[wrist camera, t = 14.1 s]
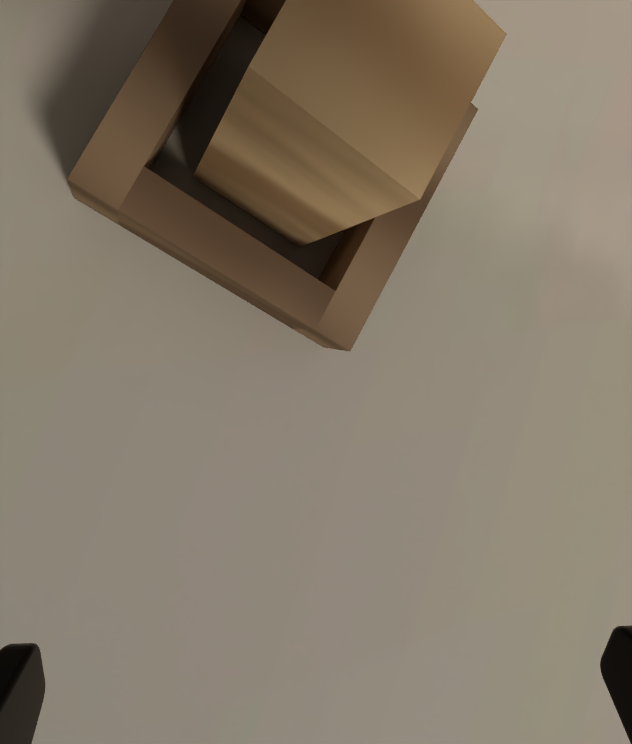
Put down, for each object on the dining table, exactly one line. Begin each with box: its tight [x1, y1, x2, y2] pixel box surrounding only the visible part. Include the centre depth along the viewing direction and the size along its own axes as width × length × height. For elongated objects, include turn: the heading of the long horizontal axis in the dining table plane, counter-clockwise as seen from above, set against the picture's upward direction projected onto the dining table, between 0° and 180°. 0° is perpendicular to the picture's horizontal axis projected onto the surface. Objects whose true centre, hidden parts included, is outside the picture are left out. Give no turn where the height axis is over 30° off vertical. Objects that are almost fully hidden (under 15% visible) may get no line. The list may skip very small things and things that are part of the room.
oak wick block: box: [193, 0, 507, 247], centre depth 15 cm, size 4×4×8 cm
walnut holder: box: [67, 0, 478, 351], centre depth 18 cm, size 10×10×2 cm
